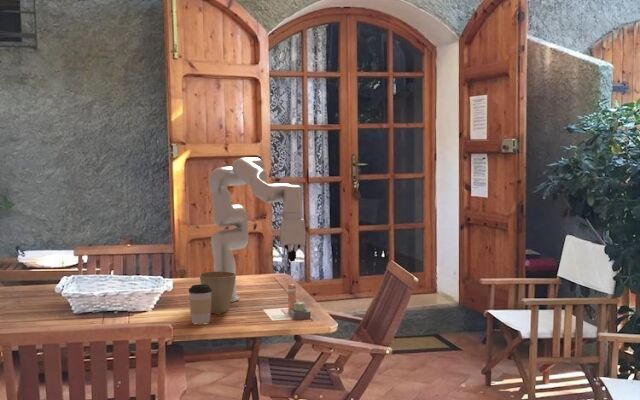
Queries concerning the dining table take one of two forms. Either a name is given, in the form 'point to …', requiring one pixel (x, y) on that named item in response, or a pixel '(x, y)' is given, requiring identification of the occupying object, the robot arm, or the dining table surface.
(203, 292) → the coffee cup
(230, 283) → the plant pot
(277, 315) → the colouring board
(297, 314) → the button housing
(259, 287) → the dining table surface
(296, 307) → the button
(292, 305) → the marker
